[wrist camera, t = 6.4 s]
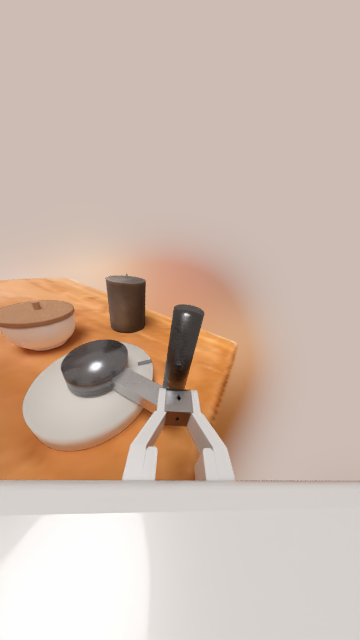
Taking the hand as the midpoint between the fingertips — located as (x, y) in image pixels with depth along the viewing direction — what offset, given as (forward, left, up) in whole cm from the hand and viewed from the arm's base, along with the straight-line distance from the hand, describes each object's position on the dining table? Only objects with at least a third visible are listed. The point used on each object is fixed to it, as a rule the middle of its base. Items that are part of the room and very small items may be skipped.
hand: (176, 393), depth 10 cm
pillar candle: (-31, +3, -12) cm, 33 cm away
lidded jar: (-28, -14, -12) cm, 34 cm away
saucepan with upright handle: (-8, -3, -8) cm, 12 cm away
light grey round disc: (-12, -5, -11) cm, 18 cm away
